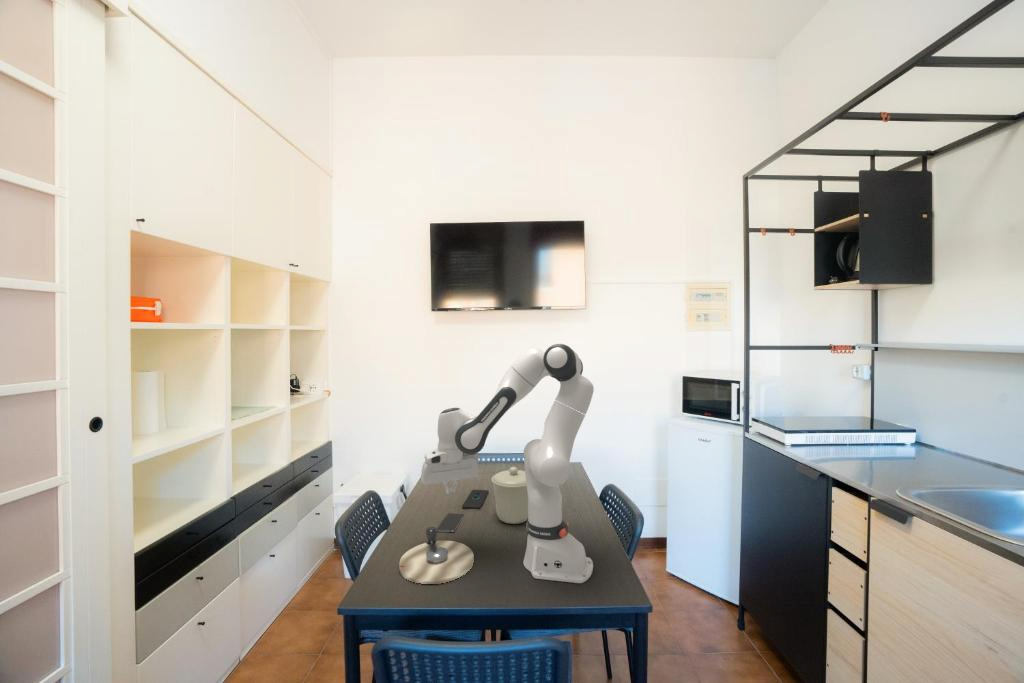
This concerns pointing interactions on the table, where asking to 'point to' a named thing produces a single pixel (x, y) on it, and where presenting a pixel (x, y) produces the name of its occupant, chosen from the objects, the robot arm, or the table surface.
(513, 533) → the table surface
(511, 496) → the canister
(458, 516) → the smartphone
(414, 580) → the base
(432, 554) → the crank handle
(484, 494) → the smart home device
